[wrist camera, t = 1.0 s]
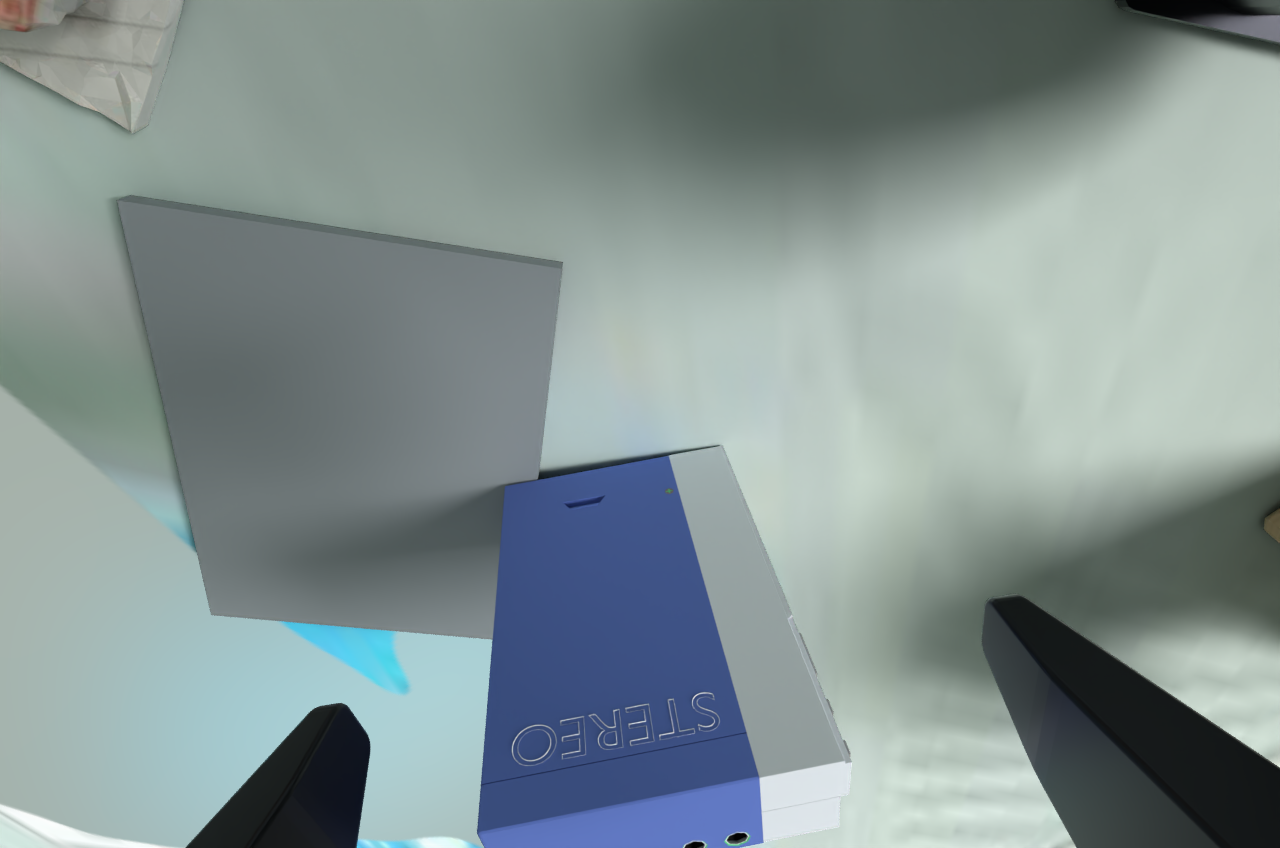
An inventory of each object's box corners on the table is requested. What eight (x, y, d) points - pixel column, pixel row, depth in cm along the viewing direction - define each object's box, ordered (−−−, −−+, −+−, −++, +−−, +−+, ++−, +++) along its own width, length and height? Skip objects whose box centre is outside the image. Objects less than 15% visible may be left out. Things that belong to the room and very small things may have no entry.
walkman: (522, 542, 25) (508, 914, 15) (504, 484, 23) (474, 853, 13) (730, 504, 25) (858, 843, 15) (725, 444, 23) (864, 775, 13)
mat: (562, 262, 20) (561, 268, 19) (520, 630, 28) (519, 641, 27) (130, 195, 18) (116, 200, 18) (218, 603, 27) (211, 615, 26)
